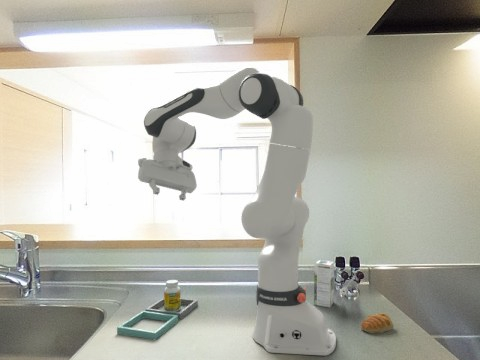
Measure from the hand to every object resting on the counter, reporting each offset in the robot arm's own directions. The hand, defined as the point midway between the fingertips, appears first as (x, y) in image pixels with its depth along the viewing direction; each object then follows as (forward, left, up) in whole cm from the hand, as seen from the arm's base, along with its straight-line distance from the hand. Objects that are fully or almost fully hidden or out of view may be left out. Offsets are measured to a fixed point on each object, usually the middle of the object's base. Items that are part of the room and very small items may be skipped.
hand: (169, 196), depth 112 cm
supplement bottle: (+1, -3, -39) cm, 39 cm away
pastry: (-63, -8, -39) cm, 74 cm away
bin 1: (+1, +11, -38) cm, 40 cm away
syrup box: (-47, -24, -39) cm, 65 cm away
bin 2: (+1, -3, -38) cm, 38 cm away
